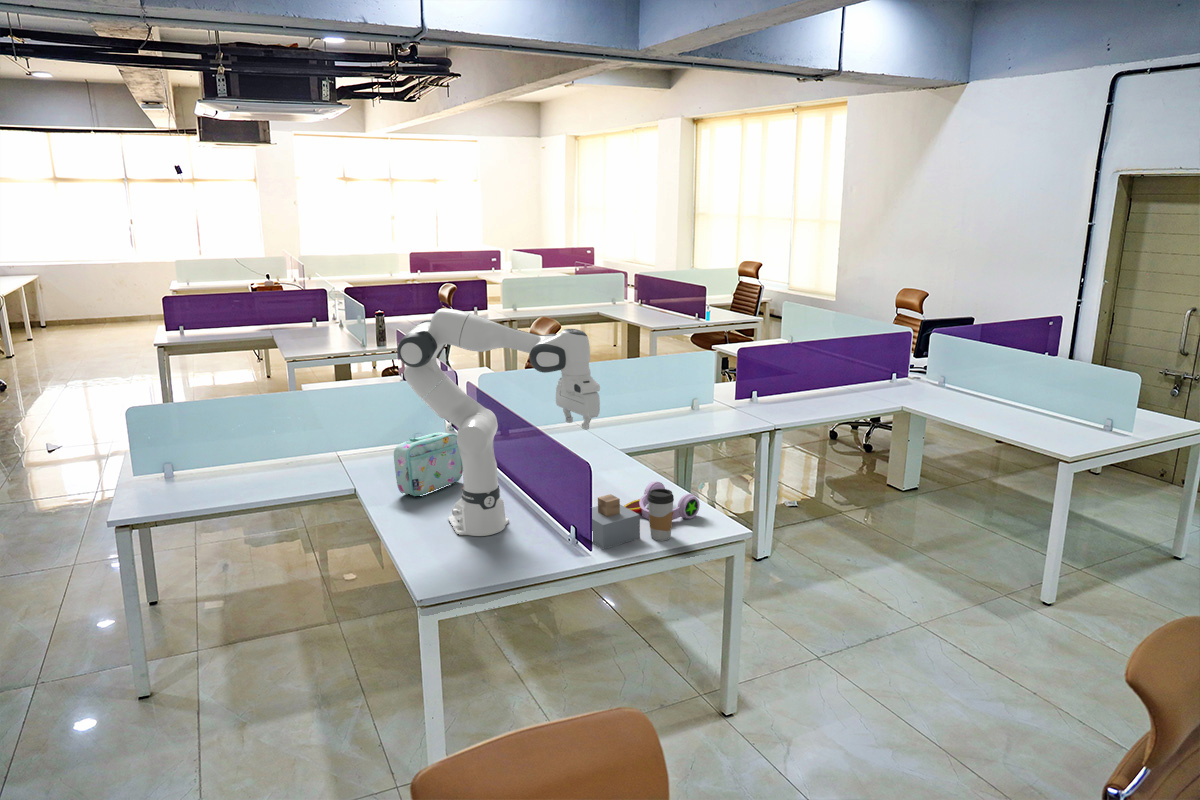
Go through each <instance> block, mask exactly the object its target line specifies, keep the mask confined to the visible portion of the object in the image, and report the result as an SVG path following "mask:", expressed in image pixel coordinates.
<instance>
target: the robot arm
mask: <svg viewBox="0 0 1200 800" xmlns="http://www.w3.org/2000/svg"><path fill="white" fill-rule="evenodd" d="M446 345H449V346H450V345H451V346H454V347H457V348H460V349H464V350H467V351H471V352H477V353H478V352H479V353H485V352H488V351H492V350H496V349H510V350H515V351H519V352H523V353H527V354H529V362H530V364H531V366H532V367H533V369H534V370H536V371H537V372H540V373H544V374H545V373H553V372H557V371H561V377H560V378H559V379H558V380H557V385H556V388H555V404H556V406H557V407H559V408H562V411H563V412H562V413H564V416H565V422H566V423H567V424H572V423H573V422H574V418H573V417H574V416H572V413H575V414H577V415H580V416H582V418H583V422H582V423H581V429H582V430H584V431H586V430H589V429H590V423H591V421H592V419H593V418H598V417H599V415H600V409H601V408H600V407H601V405H600V404H601V402H600V401H601V400H600V399H601V398H600V395H599V392H600V389H601V387H600V384H599V383H598V382H597V381H596V380H595V379H594V377H592V375H591V368H590V361H591V348H590V339H589V336H588V335H587V333H586V332H584V331H583V330H579V329H578V328H577V329H576V328H565V329H563V330H562V331H561V332H559V333H558V334H556V333H548V334H536V333H531V332H527V331H525V330H521V329H517V328H514V327H510V326H506V325H503V324H501V323H498V322H495V321H492V320H491V319H488V318H486V317H482V316H479V315H477V314H475V313H472V312H468V311H463V310H458V309H453V308H445V307H443V308H440V309H437V310H436V311H435V313H434V314H433V315H432V317H431V319H429V320H424V321H422V322H420V323H419V324H417V325H415V326H414V327H412V328H410V330H409V331H408V332H407V333H406V335H404V336H403V337H402V338H401V339H400V341H399V343H398V345H397V357H398V358H399V360H400V361H401V362H402V363H403V364H404V365H406V366H405V368H404V371H403V377H404V379H405V380H406V382H407V384H408V385H409V386H410V387H411V389H412V390H413V391H414V393H415V394H416V395H417V396H418V397H419V398H420V399H421V400H422V401H423V403H425V404H426V405H427V406H428V407H429V408H430V409H431V410H432V411H433V412H434V413H435V414H436V415H437V416H438V417H439V418H441V419H444V420H446V421H447V422H448V423H451V424H452V425H453V426H455V427H456V428H458V429H457V432H456V435H457V444H458V446H459V452H460V457H461V461H462V467H463V473H462V477H463V478H462V479H463V485H462V488H461V490H462V491H461V498H460V499H458V501H456V502H455V503H454V505H453V509H452V510H451V512H452V513H451V515H449V516H448V517H447V520H448V519H449V521H450V523H451V524H450V523H449V524H450V526H451V525H452V526H453V527H452V526H451V527H452V529H453V528H454V529H453V530H455V531H454V533H455V534H456V533H457V534H459V535H458V536H473V537H484V536H485V537H486V536H491V535H495V534H497V533H500V532H502V531H503V530H504V529H505V528H506V526H507V524H509V523H510V518H509V517H506V511H505V510H506V509H505V502H504V499H502V498H501V490H500V485H499V482H498V480H499V479H498V463H497V460H496V457H495V449H494V439H495V438H494V437H495V435H496V433H497V431H498V428H499V427H498V419H497V416H496V414H495V413H494V412H493V411H492V410H491V409H489V408H486V407H485V406H484V405H482V404H481V403H479V402H478V401H476V400H475V399H474V398H473V397H471V396H469V394H467V393H466V392H465V391H464V390H462V388H460V386H458V384H456V382H455V381H453V380H452V379H451V378H450V376H448V374H446V372H444V371H443V370H442V369H441V368H440V366H439V365H438V362H437V358H440V356H441V355H442V352H443V350H444V348H445V347H446ZM449 521H448V522H449ZM457 534H456V535H457Z"/></svg>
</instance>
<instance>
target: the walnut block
mask: <svg viewBox="0 0 1200 800" xmlns="http://www.w3.org/2000/svg"><path fill="white" fill-rule="evenodd" d="M620 500H621V499H620V498H619V497H617V496H616V495H613V494H611V493H610V494H607V495H602V496H599V497H597V506H598V513H600V514H602V515H604V516H606V517H609V516H613V515H616V514H620V505H621V503H620V502H621V501H620Z"/></svg>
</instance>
